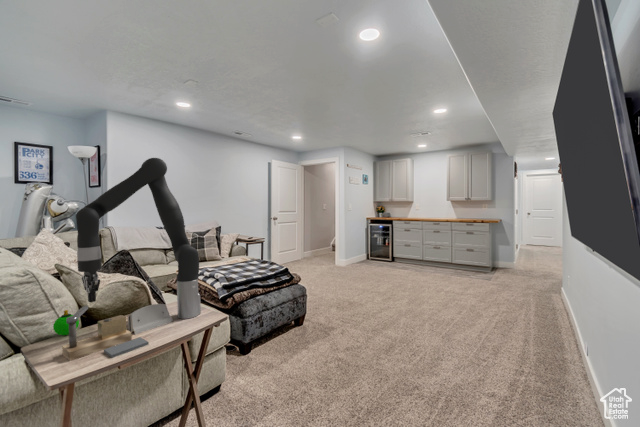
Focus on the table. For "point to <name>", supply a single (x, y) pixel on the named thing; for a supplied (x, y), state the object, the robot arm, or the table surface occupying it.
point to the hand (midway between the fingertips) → (92, 301)
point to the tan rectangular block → (111, 327)
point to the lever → (76, 315)
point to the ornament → (63, 324)
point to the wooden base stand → (90, 343)
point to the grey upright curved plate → (148, 318)
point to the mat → (125, 347)
